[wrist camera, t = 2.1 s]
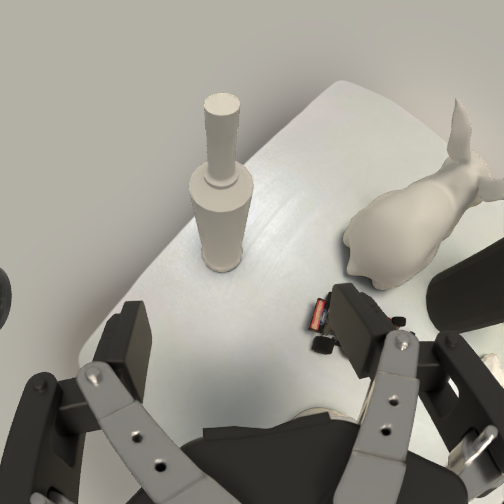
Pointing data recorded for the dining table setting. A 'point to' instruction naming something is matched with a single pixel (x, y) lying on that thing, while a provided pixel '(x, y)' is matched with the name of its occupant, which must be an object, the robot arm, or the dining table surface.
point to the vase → (469, 292)
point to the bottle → (221, 187)
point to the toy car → (320, 322)
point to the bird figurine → (494, 366)
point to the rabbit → (420, 213)
